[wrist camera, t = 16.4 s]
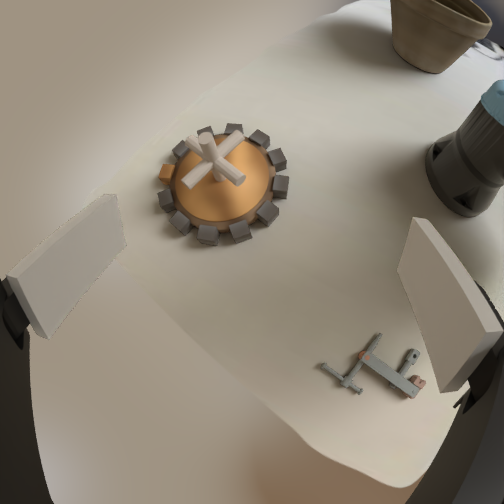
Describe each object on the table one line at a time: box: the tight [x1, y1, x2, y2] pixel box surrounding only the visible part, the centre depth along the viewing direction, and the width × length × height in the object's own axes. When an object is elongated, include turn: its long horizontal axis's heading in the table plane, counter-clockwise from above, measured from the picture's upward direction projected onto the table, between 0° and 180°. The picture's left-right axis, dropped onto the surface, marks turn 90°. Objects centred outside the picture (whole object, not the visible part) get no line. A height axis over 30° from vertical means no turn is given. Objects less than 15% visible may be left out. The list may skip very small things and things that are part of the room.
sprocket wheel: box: [157, 123, 289, 246], centre depth 42 cm, size 20×20×2 cm
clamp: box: [321, 333, 426, 399], centre depth 34 cm, size 15×2×10 cm
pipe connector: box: [181, 130, 246, 190], centre depth 36 cm, size 10×10×10 cm
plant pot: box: [390, 0, 492, 73], centre depth 38 cm, size 25×25×22 cm
